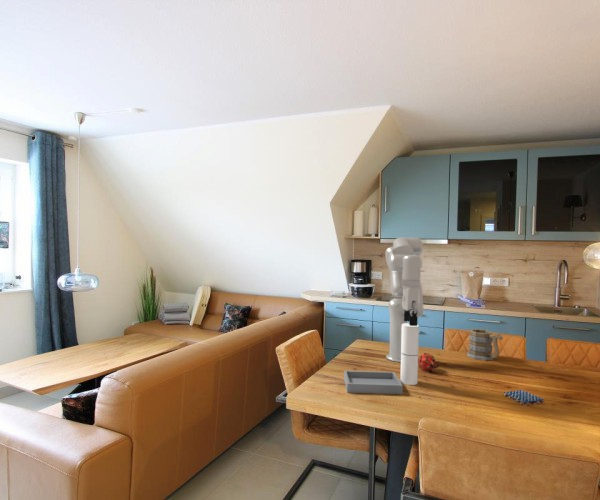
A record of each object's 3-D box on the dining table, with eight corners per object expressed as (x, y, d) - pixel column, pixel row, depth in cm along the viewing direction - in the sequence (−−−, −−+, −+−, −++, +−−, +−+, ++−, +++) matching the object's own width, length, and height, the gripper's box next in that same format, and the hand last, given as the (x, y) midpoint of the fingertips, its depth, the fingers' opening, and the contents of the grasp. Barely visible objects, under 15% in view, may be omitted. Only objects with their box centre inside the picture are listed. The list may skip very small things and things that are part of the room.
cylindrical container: (398, 383, 165) (400, 325, 165) (402, 378, 172) (403, 322, 171) (415, 386, 162) (417, 327, 162) (418, 381, 168) (420, 324, 168)
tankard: (462, 354, 211) (463, 327, 211) (481, 352, 215) (481, 326, 215) (490, 365, 192) (491, 335, 192) (510, 363, 196) (511, 334, 196)
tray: (344, 378, 170) (344, 370, 170) (394, 379, 169) (394, 372, 169) (347, 392, 154) (347, 383, 154) (402, 394, 153) (402, 385, 153)
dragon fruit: (423, 368, 190) (432, 380, 179) (410, 359, 189) (419, 370, 177) (434, 355, 190) (444, 367, 178) (421, 346, 188) (431, 356, 177)
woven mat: (524, 407, 144) (524, 402, 144) (502, 396, 154) (502, 391, 154) (546, 404, 147) (546, 399, 147) (522, 394, 157) (523, 389, 157)
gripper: (398, 282, 175) (397, 319, 175) (407, 285, 158) (406, 327, 158) (414, 282, 175) (413, 319, 175) (425, 286, 157) (424, 327, 157)
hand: (410, 323), depth 166 cm, fingers open, 9 cm apart
